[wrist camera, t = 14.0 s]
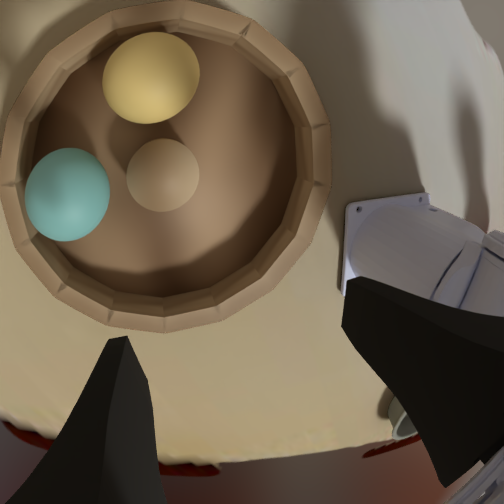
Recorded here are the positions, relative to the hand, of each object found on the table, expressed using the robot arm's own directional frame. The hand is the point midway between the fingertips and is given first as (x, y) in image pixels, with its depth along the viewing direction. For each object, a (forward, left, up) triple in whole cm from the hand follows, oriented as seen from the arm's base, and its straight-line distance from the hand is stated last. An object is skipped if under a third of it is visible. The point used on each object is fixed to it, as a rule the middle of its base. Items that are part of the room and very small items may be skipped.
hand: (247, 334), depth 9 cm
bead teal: (+7, -4, -10) cm, 12 cm away
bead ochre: (+2, -9, -10) cm, 13 cm away
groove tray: (+2, -4, -10) cm, 11 cm away
